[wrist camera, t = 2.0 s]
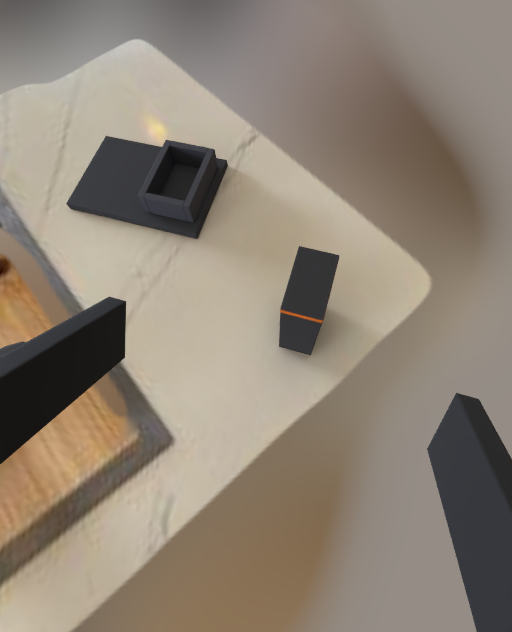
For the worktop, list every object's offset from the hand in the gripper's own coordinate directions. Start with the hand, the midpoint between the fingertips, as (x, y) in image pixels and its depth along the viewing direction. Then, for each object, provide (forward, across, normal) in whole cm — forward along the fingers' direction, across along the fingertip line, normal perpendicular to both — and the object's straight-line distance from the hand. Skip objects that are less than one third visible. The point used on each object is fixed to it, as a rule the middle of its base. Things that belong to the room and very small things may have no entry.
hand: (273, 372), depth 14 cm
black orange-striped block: (+24, 0, -9) cm, 26 cm away
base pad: (+34, -24, 0) cm, 42 cm away
